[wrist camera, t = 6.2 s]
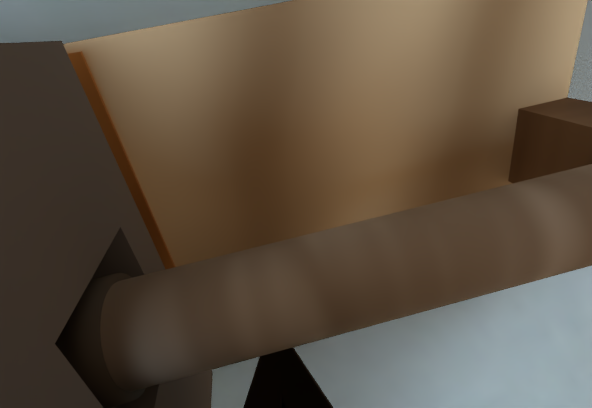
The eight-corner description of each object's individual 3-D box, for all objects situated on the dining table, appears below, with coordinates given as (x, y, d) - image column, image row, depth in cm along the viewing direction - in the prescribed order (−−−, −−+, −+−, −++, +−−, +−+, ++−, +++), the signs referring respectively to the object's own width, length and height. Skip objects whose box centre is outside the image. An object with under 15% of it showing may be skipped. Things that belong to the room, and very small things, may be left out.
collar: (61, 41, 6) (-429, 60, 2) (212, 372, 11) (200, 625, 6) (-107, 73, 6) (-1267, 204, 1) (120, 397, 11) (36, 680, 6)
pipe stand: (557, -48, 9) (1050, -170, 4) (510, 242, 14) (697, 380, 8) (-131, 83, 8) (-1002, 202, 2) (73, 357, 13) (-51, 615, 7)
